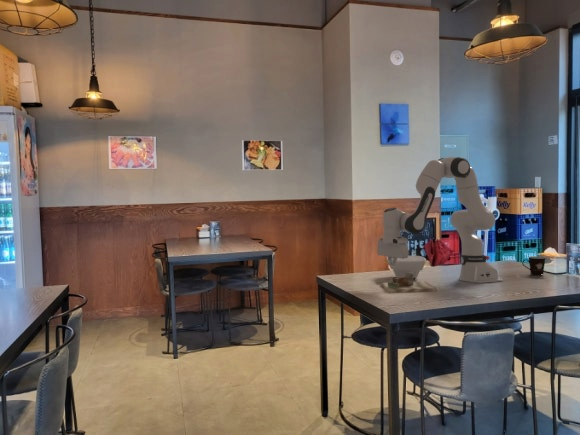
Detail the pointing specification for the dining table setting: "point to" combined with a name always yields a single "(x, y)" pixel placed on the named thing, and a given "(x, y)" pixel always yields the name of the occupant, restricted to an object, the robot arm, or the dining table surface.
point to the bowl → (408, 265)
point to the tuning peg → (404, 279)
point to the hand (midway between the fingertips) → (392, 265)
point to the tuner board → (408, 287)
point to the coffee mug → (536, 265)
